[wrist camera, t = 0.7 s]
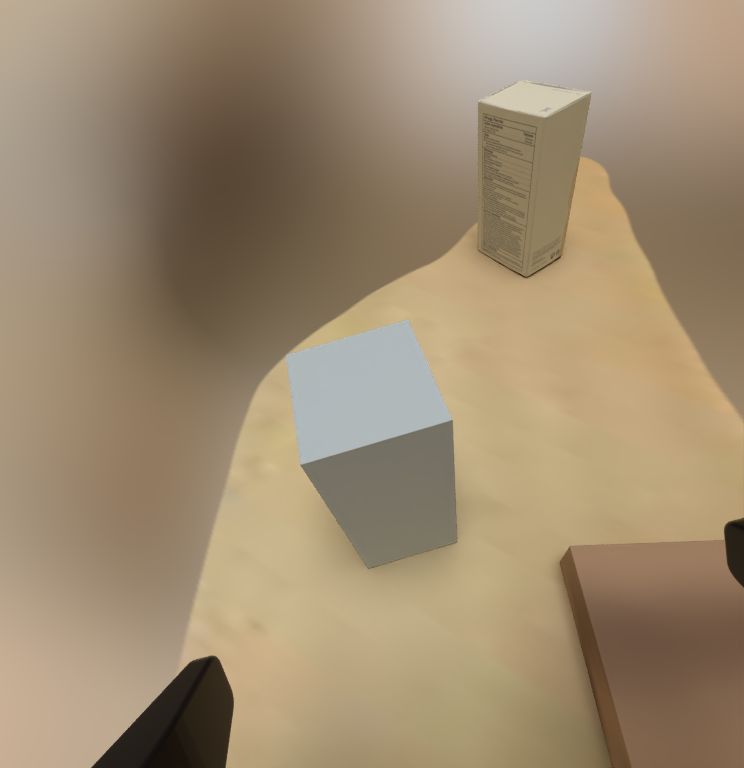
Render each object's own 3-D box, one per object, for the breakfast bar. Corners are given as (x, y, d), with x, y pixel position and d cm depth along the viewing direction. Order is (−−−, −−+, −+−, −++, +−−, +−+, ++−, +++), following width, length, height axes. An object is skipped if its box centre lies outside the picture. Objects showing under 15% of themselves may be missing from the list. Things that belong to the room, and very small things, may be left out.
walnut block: (849, 789, 15) (919, 802, 13) (613, 780, 16) (638, 790, 14) (731, 559, 20) (766, 538, 18) (558, 564, 21) (569, 545, 19)
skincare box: (563, 256, 35) (599, 91, 26) (524, 280, 34) (547, 117, 25) (509, 229, 39) (523, 76, 30) (472, 250, 38) (475, 98, 29)
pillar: (457, 542, 22) (452, 419, 13) (368, 568, 22) (300, 464, 13) (428, 462, 25) (408, 319, 16) (350, 485, 25) (286, 355, 16)
